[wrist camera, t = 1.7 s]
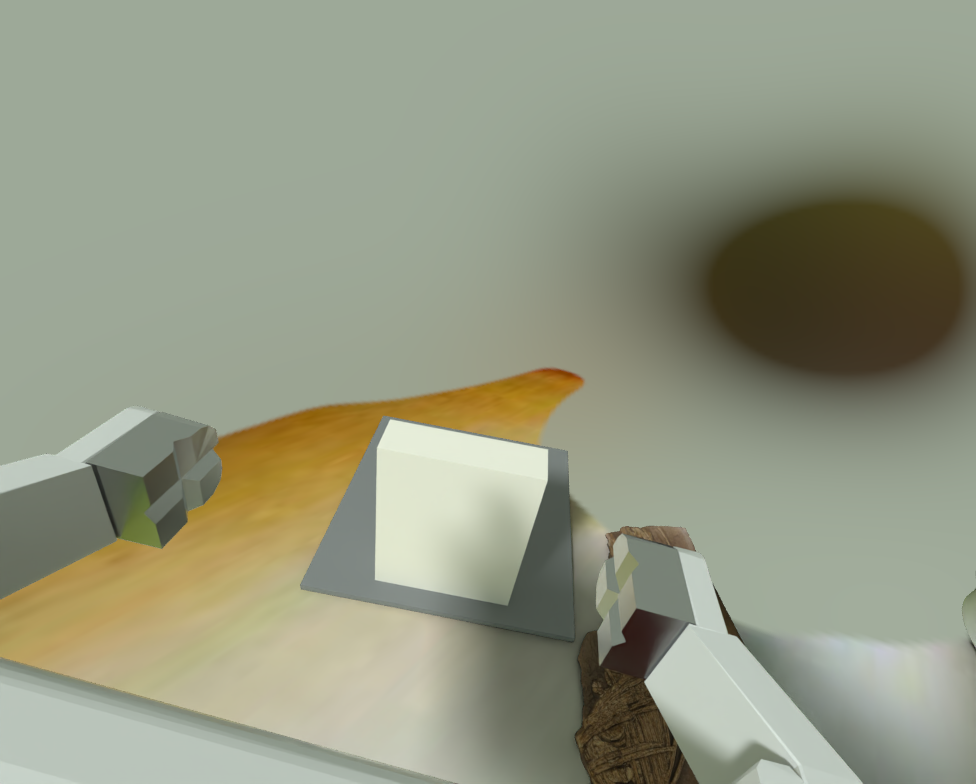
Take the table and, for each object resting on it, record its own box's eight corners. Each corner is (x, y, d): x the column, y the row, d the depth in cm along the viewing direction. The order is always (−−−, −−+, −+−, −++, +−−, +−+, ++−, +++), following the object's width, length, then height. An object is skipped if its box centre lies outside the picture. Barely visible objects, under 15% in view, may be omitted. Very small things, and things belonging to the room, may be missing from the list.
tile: (510, 570, 33) (548, 445, 26) (507, 605, 31) (547, 480, 24) (386, 546, 33) (391, 416, 26) (374, 580, 31) (377, 447, 24)
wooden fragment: (612, 504, 41) (616, 496, 40) (742, 555, 38) (748, 547, 38) (519, 901, 21) (524, 897, 20) (780, 1063, 18) (794, 1064, 18)
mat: (566, 454, 45) (567, 450, 45) (572, 641, 30) (575, 638, 30) (383, 419, 45) (383, 415, 45) (300, 589, 30) (300, 584, 30)
